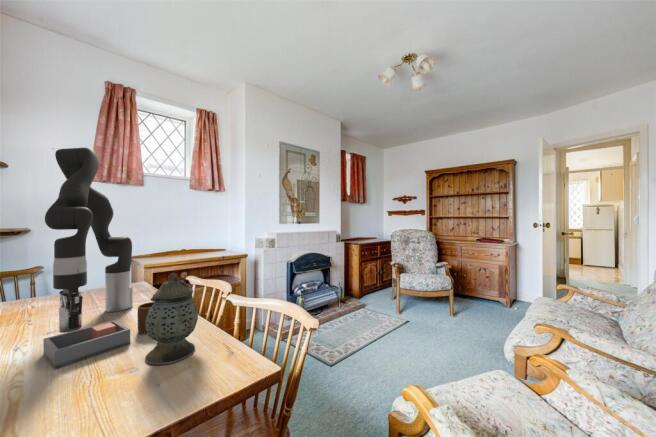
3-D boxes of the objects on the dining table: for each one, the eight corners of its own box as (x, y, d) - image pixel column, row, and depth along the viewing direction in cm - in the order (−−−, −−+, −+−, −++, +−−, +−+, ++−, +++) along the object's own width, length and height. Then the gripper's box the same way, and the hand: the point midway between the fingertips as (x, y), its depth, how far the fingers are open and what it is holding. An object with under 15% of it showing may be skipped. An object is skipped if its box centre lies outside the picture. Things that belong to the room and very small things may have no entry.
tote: (114, 333, 98) (114, 320, 98) (130, 344, 90) (130, 329, 90) (43, 354, 83) (43, 338, 83) (54, 369, 75) (54, 351, 75)
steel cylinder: (79, 324, 86) (78, 302, 86) (83, 328, 84) (83, 305, 84) (57, 330, 82) (57, 307, 82) (61, 334, 80) (61, 310, 79)
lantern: (151, 347, 88) (151, 270, 88) (199, 339, 93) (199, 267, 93) (138, 370, 75) (137, 280, 75) (195, 360, 80) (194, 276, 80)
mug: (172, 330, 100) (172, 305, 100) (150, 338, 94) (150, 311, 94) (155, 324, 107) (155, 300, 106) (133, 331, 100) (133, 306, 100)
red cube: (110, 336, 93) (110, 322, 93) (116, 340, 90) (115, 325, 90) (91, 342, 89) (91, 327, 89) (97, 346, 86) (96, 330, 86)
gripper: (93, 272, 82) (94, 327, 82) (79, 267, 90) (80, 317, 90) (59, 276, 76) (60, 336, 76) (47, 270, 84) (48, 325, 84)
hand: (70, 326), depth 83 cm, fingers closed on steel cylinder, 5 cm apart
